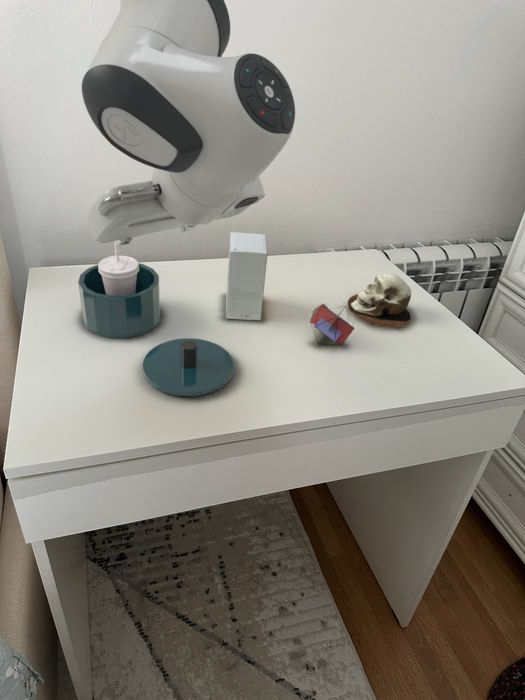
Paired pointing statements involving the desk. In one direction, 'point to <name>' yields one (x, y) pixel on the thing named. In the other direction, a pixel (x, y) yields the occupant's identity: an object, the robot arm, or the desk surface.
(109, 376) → the desk surface
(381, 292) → the skull
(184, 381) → the lid
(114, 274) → the smoothie
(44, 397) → the desk surface
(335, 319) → the geometric puzzle
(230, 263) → the small box
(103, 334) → the pot
